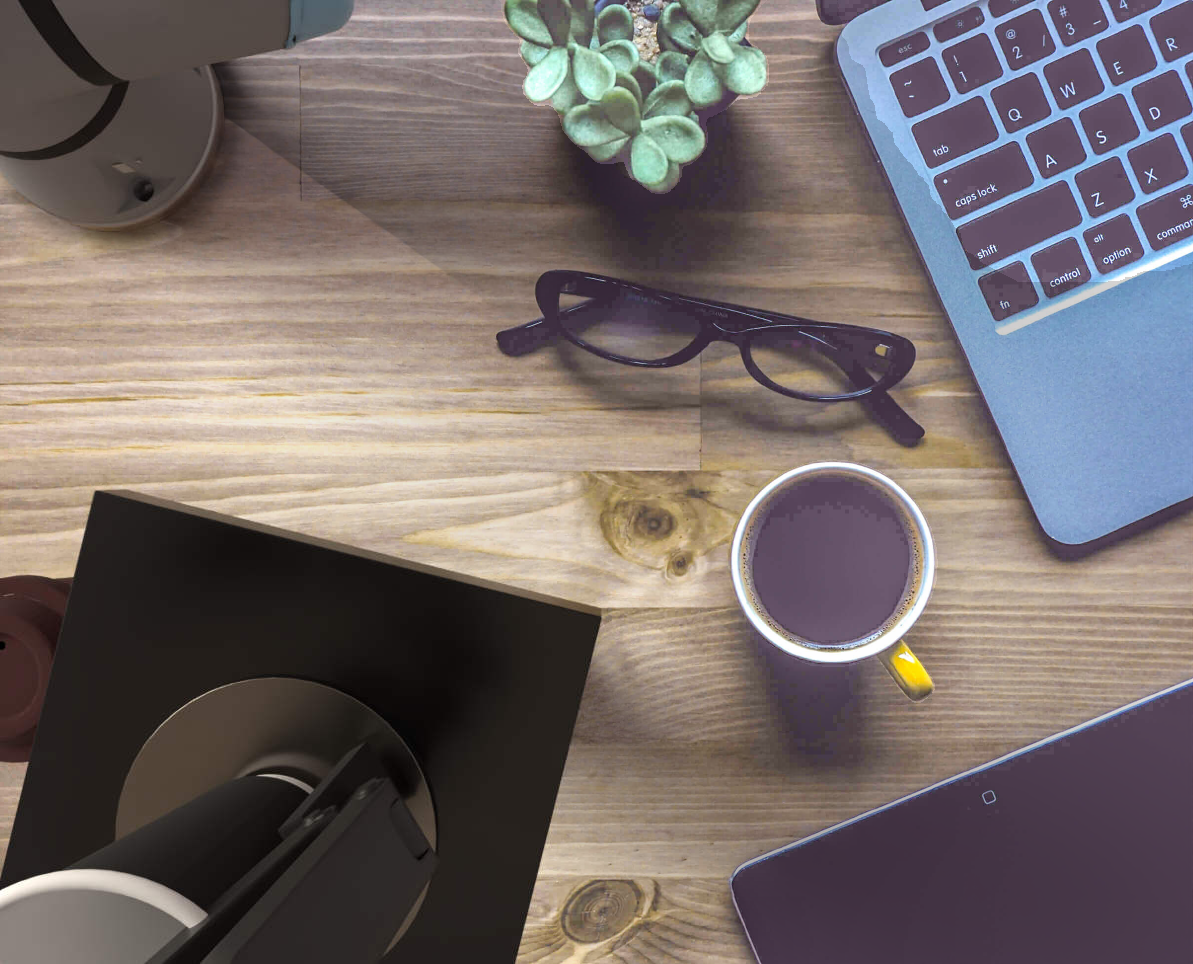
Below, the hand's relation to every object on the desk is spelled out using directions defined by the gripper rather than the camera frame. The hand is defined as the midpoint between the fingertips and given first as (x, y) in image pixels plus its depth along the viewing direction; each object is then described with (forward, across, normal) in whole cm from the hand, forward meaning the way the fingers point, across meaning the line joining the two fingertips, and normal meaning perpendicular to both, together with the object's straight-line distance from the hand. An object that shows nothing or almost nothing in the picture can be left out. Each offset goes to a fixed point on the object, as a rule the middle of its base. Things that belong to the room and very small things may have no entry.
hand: (268, 847), depth 30 cm
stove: (+3, 0, 0) cm, 3 cm away
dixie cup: (0, 0, 0) cm, 0 cm away
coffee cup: (+31, -16, +12) cm, 37 cm away
